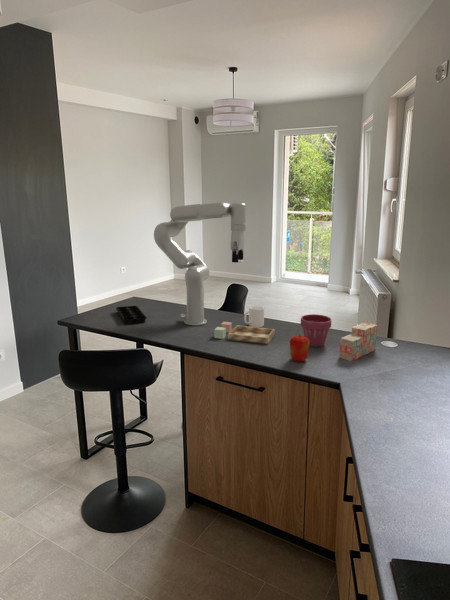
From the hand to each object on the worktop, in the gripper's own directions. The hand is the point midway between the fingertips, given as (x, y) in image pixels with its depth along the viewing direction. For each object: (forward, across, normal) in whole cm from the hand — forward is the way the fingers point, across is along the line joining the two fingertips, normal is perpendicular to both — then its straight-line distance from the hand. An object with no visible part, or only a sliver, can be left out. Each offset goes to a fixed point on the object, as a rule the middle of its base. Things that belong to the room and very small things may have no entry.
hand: (237, 260), depth 221 cm
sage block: (+36, +19, -3) cm, 41 cm away
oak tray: (+36, +14, +12) cm, 40 cm away
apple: (+36, +37, +38) cm, 65 cm away
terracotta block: (+36, +9, -3) cm, 37 cm away
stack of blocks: (+37, +20, +63) cm, 75 cm away
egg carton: (+36, +2, -63) cm, 73 cm away
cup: (+36, -5, +8) cm, 37 cm away
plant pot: (+36, +13, +43) cm, 58 cm away
